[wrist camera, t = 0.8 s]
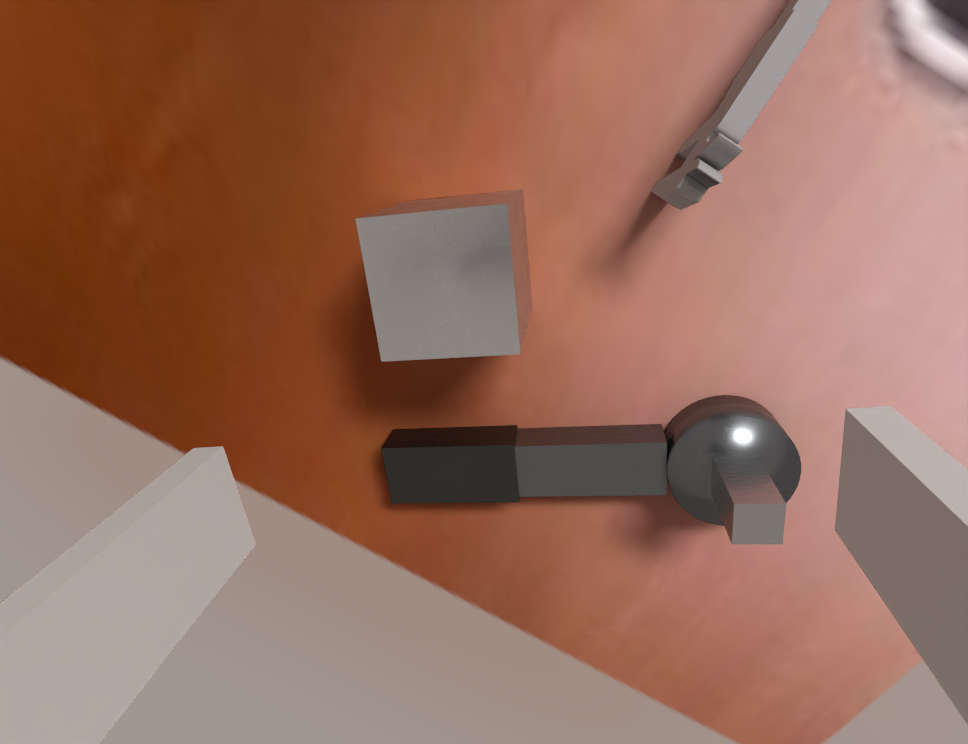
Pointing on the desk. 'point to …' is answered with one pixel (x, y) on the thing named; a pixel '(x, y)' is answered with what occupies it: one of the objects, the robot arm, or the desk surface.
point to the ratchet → (614, 464)
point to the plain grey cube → (448, 276)
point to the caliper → (740, 105)
